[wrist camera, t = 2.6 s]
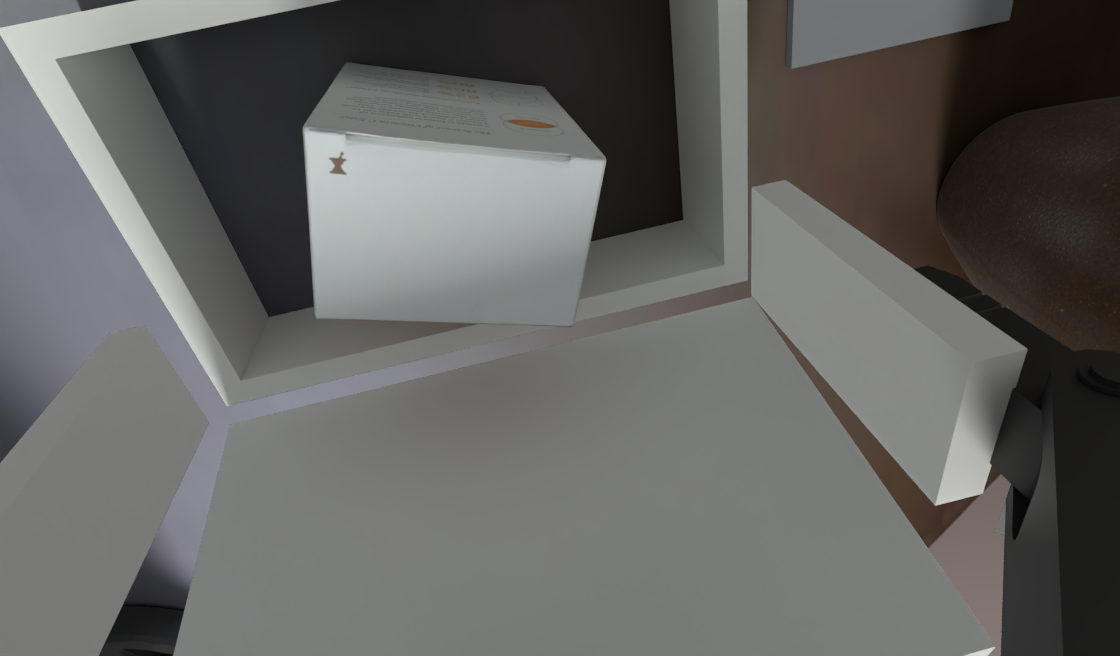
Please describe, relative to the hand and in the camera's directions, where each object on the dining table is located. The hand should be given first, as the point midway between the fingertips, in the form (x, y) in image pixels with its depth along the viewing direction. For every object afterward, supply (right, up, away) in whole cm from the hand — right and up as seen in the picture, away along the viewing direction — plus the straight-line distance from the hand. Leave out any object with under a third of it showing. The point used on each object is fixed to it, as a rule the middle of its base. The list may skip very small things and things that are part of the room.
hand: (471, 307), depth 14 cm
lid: (+1, -6, +7) cm, 9 cm away
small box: (-3, +7, +12) cm, 15 cm away
